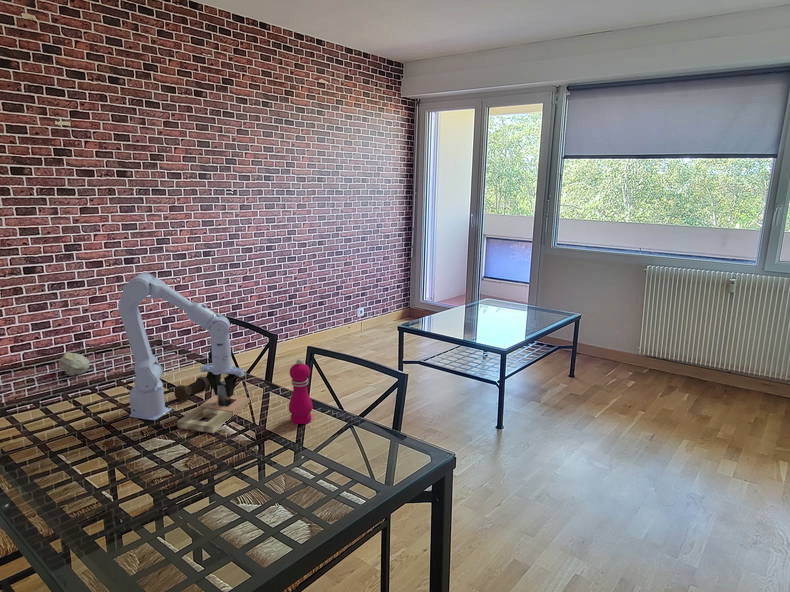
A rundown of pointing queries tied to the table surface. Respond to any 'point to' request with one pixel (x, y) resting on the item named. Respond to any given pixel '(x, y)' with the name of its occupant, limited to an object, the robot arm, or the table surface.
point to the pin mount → (211, 426)
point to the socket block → (235, 406)
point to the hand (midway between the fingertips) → (224, 395)
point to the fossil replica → (73, 363)
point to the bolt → (191, 388)
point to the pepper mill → (300, 394)
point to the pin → (222, 394)
